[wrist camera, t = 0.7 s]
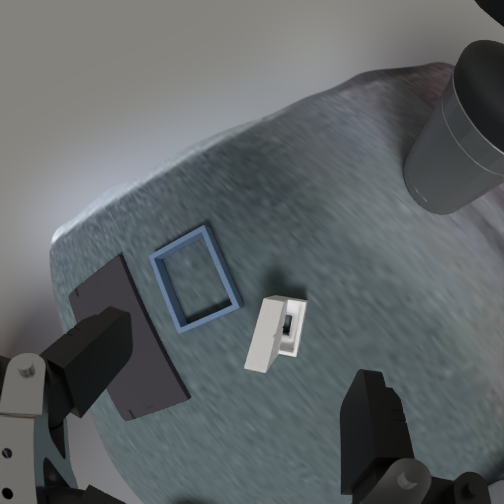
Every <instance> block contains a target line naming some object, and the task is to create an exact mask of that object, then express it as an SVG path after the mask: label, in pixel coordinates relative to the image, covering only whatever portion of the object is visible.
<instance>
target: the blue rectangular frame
mask: <svg viewBox="0 0 504 504" xmlns="http://www.w3.org/2000/svg"><path fill="white" fill-rule="evenodd" d="M202 237H204V239H205V242H206V244H207V246H208V249H209V251H210V254H211V256H212V258H213V261H214V263H215V265H216V268H217V270H218V272H219V275H220V277H221V279H222V282H223V284H224V286H225V289H226V291H227V293H228V295H229V298H230V300H231V302H232V305H231V306H229V307H227V308H224V309H222V310H220V311H218V312H216V313H213V314H211V315H209V316H206V317H204V318H202V319H200V320H197V321H195V322H193V323H190V324H187V322H186V319H185V317H184V314H183V312H182V310H181V307H180V305H179V302H178V300H177V297H176V295H175V292H174V290H173V287H172V285H171V282H170V279H169V277H168V274H167V271H166V269H165V266H164V263H163V261H162V259H164V258H166V257H168V256H169V255H171V254H173V253H175V252H177V251H178V250H180V249H182V248H184V247H186V246H188V245H189V244H191V243H193V242H195V241H197V240H199V239H200V238H202ZM149 258H150V261H151V264H152V267H153V270H154V273H155V275H156V278H157V281H158V283H159V286H160V289H161V291H162V294H163V297H164V299H165V302H166V304H167V307H168V309H169V312H170V314H171V317H172V319H173V322H174V324H175V326H176V329H177V331H178V333H179V334H181V333H184V332H187V331H189V330H191V329H194V328H196V327H198V326H201V325H203V324H205V323H208V322H210V321H212V320H215V319H217V318H219V317H222V316H224V315H226V314H228V313H231V312H233V311H235V310H237V309H240V308H242V307H244V304H243V302H242V300H241V297H240V295H239V293H238V291H237V288H236V286H235V284H234V282H233V279H232V277H231V275H230V272H229V270H228V268H227V265H226V263H225V261H224V259H223V256H222V254H221V252H220V249H219V247H218V245H217V242H216V240H215V238H214V235H213V233H212V230H211V228H210V227H208V226H205V225H203V226H201V227H199V228H197V229H195V230H194V231H192V232H190V233H188V234H186V235H185V236H183V237H181V238H179V239H177V240H176V241H174V242H172V243H170V244H169V245H167V246H165V247H163V248H162V249H160V250H158V251H156V252H155V253H153V254H151V255H149Z"/></svg>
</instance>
